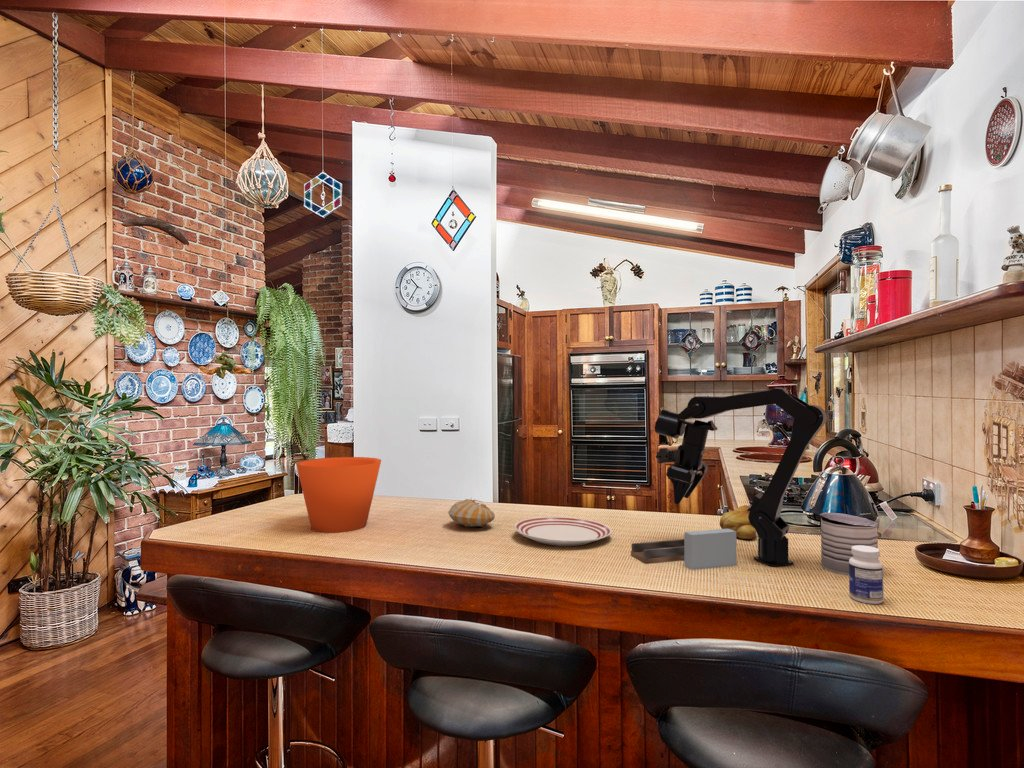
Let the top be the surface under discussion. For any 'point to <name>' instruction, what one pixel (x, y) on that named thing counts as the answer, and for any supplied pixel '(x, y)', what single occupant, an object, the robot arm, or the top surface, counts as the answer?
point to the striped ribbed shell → (471, 513)
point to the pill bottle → (866, 575)
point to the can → (844, 539)
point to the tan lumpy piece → (738, 522)
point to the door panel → (710, 548)
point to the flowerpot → (338, 491)
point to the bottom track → (658, 551)
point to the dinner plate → (562, 530)
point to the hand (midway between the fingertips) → (681, 500)
